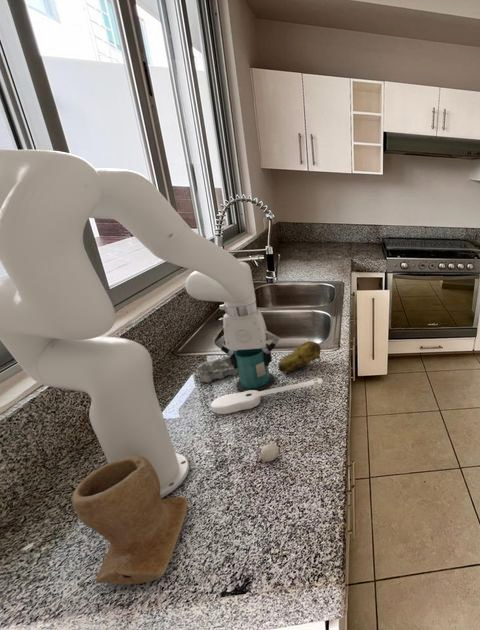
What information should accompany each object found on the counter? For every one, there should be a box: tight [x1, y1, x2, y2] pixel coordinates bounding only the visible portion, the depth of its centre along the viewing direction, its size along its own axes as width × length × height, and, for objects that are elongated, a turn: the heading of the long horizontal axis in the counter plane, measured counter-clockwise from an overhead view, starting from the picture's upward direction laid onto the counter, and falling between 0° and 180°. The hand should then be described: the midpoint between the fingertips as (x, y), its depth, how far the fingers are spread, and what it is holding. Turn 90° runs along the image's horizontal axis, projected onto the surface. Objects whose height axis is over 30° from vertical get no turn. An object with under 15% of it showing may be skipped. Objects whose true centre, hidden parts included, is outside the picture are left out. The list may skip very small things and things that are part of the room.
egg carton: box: [196, 356, 238, 383], centre depth 104 cm, size 11×8×4 cm
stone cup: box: [71, 456, 189, 586], centre depth 54 cm, size 15×12×15 cm
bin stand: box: [236, 372, 275, 393], centre depth 101 cm, size 10×10×1 cm
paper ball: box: [260, 443, 280, 463], centre depth 74 cm, size 4×4×4 cm
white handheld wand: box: [210, 377, 324, 415], centre depth 93 cm, size 28×6×3 cm, turn 114°
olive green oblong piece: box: [278, 341, 322, 373], centre depth 108 cm, size 8×13×8 cm, turn 109°
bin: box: [234, 348, 270, 388], centre depth 99 cm, size 8×8×10 cm
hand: (252, 364), depth 98 cm, fingers closed on bin, 7 cm apart
